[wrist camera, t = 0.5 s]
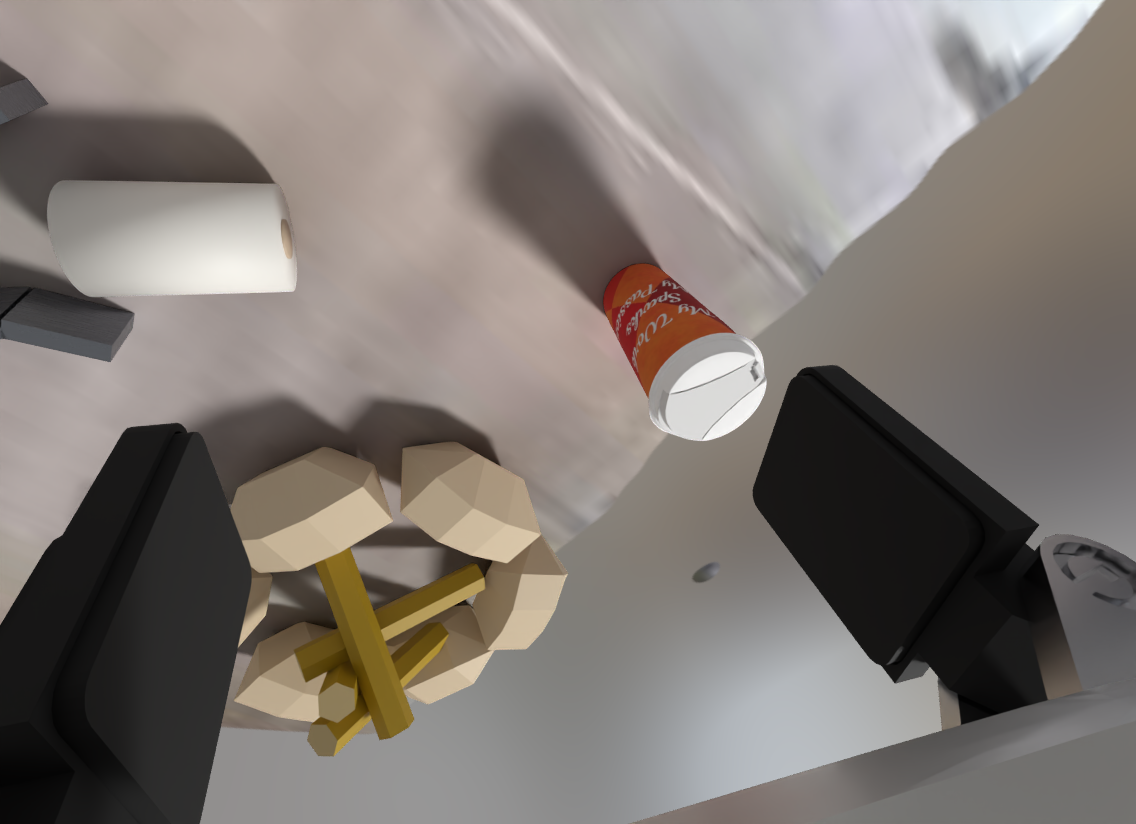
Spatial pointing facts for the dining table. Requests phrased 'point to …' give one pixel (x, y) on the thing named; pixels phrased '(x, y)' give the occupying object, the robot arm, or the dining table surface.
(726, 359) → the paper cup
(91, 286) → the roll
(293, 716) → the campfire
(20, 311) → the holder
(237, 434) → the dining table surface
